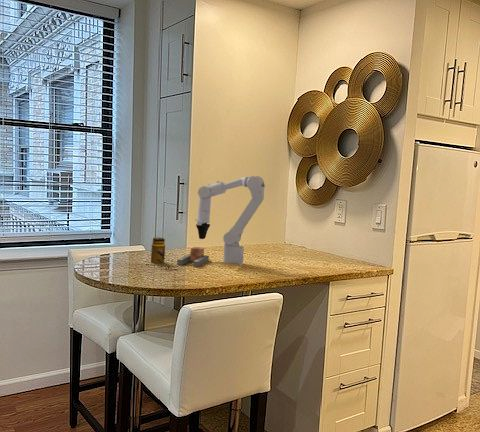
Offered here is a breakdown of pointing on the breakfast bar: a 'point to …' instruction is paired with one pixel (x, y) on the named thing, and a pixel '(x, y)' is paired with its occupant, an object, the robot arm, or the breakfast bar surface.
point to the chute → (195, 263)
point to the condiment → (158, 251)
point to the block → (196, 253)
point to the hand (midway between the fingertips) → (202, 238)
